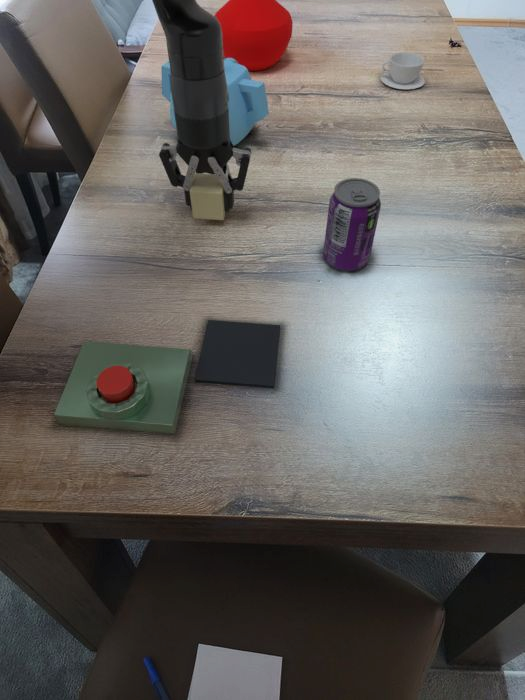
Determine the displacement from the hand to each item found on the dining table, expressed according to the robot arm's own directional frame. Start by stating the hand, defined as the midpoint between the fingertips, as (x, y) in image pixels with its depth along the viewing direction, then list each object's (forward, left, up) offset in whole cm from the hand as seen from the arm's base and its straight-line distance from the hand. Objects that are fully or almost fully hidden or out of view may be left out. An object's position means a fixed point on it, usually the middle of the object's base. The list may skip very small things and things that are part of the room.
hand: (210, 207), depth 81 cm
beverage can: (+22, -8, -2) cm, 24 cm away
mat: (+8, -28, -2) cm, 29 cm away
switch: (-5, -37, +2) cm, 37 cm away
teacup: (+35, +53, -2) cm, 64 cm away
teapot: (-4, +24, -2) cm, 24 cm away
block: (0, 0, 0) cm, 0 cm away
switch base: (-5, -35, -2) cm, 35 cm away
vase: (0, +60, -2) cm, 60 cm away
